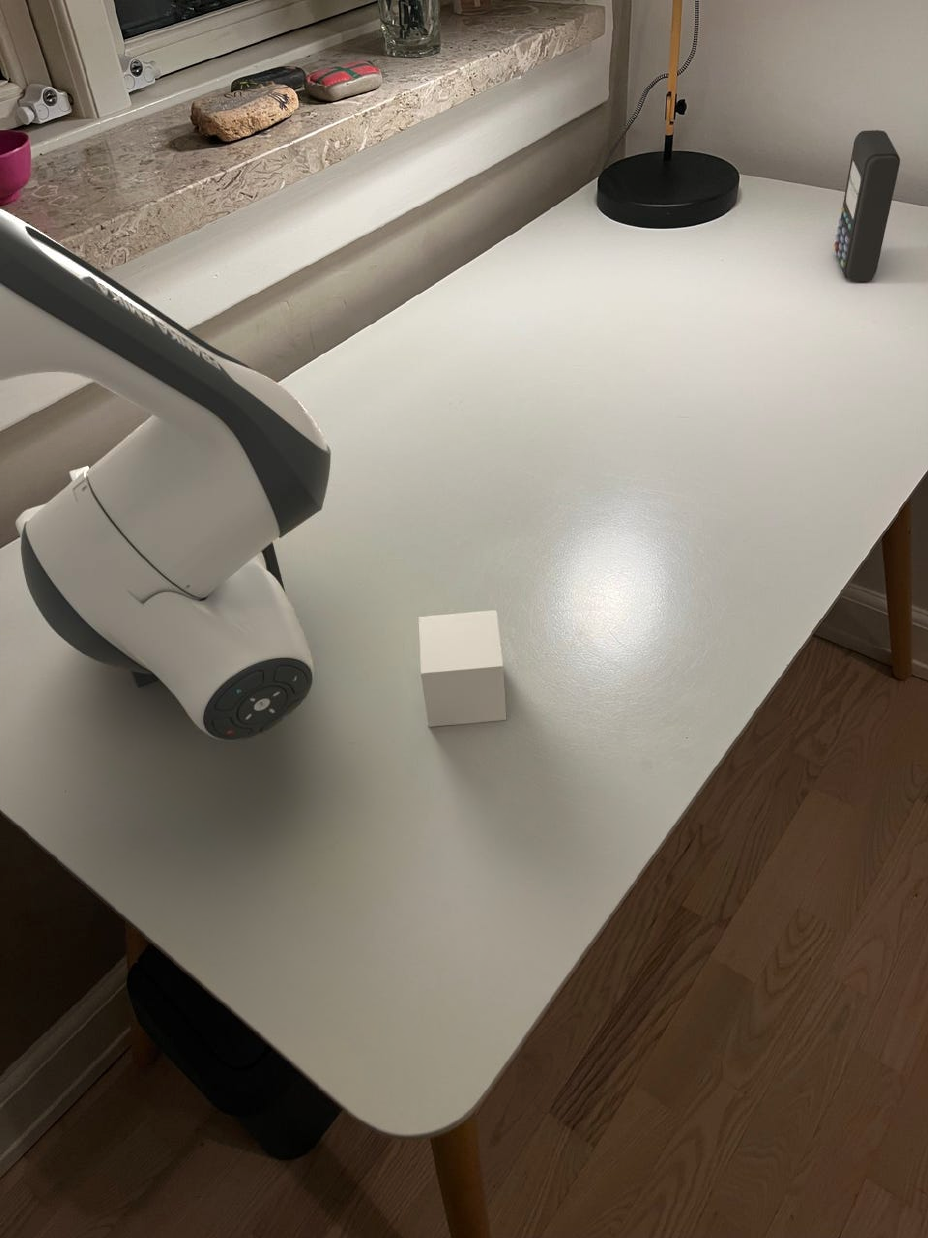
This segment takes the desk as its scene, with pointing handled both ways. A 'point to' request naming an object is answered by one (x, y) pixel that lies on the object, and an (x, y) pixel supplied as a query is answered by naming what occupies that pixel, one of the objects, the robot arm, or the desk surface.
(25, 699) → the desk surface
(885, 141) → the card reader
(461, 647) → the white cube
